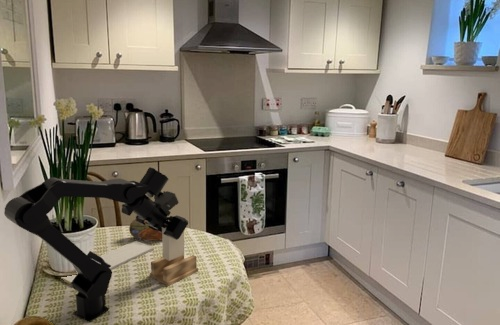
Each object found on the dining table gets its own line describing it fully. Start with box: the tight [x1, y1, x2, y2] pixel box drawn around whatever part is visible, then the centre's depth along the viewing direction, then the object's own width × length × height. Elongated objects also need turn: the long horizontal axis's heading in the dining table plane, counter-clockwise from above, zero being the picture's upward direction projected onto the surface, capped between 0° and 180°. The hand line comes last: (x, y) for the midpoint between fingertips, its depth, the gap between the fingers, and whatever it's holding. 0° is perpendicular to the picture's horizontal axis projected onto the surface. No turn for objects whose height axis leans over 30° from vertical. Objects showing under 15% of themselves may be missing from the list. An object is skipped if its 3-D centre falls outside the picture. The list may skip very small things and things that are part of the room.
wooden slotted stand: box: [149, 254, 199, 287], centre depth 126 cm, size 12×9×5 cm
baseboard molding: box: [60, 240, 155, 286], centre depth 133 cm, size 31×3×12 cm
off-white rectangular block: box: [161, 228, 185, 261], centre depth 124 cm, size 6×3×10 cm, turn 140°
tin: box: [129, 218, 162, 241], centre depth 151 cm, size 15×3×8 cm, turn 88°
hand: (176, 233), depth 125 cm, fingers closed on off-white rectangular block, 3 cm apart
